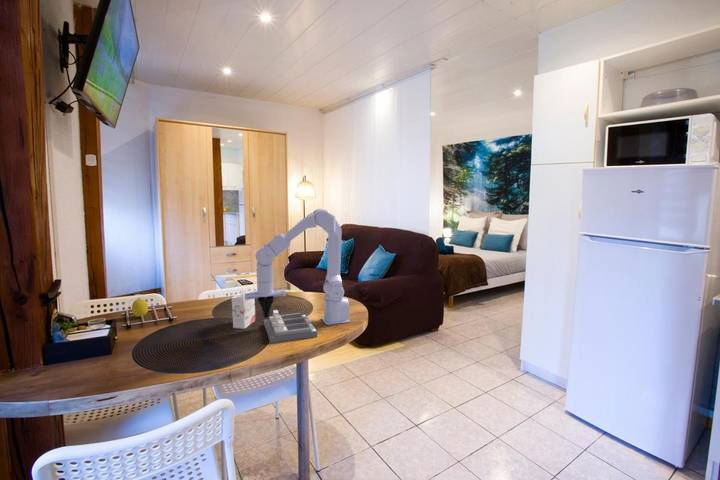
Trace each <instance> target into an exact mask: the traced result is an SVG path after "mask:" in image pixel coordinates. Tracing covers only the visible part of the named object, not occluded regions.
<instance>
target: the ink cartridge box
mask: <svg viewBox="0 0 720 480" xmlns="http://www.w3.org/2000/svg"><path fill="white" fill-rule="evenodd" d="M252 292H255V290H254V285H253V284H252V285H250V286H248V287H245V288H243V289H242V290H241V292H240V293H238V294H236V295H234V296H233V297H231V313H232V328H233V329H241V330H245V329H246V328H248V327H249V326H250V325H252V324H253V323H255V322H256V305H255V304H256V302H255V299H248V300H245V294H246V293H252Z"/></svg>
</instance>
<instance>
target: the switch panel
mask: <svg viewBox="0 0 720 480" xmlns="http://www.w3.org/2000/svg"><path fill="white" fill-rule="evenodd" d="M279 315H280V316H281V318H282V320H283V322H284V324H285V325H284V326H286V328H287V330H288V331H281V332H276V334H275V332H274V329H273V327H272V322H275V321H271V322H270V317H273V315H270V316H269V315H268V318H269V319H267V318H266V319H263V325H264V329H265V332H266V334H267V337H268V340H269V343H270V344H277V343H283V342H290V341H297V340H305V339H311V338H317V337H318V330H317V329H316V328H315V326H314V324H313V323H312V322H311V320H310V319H309V318H308V316H307V315H306V314H302V313H301V312H295V313H287V314H279ZM274 327H278V326H274Z"/></svg>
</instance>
